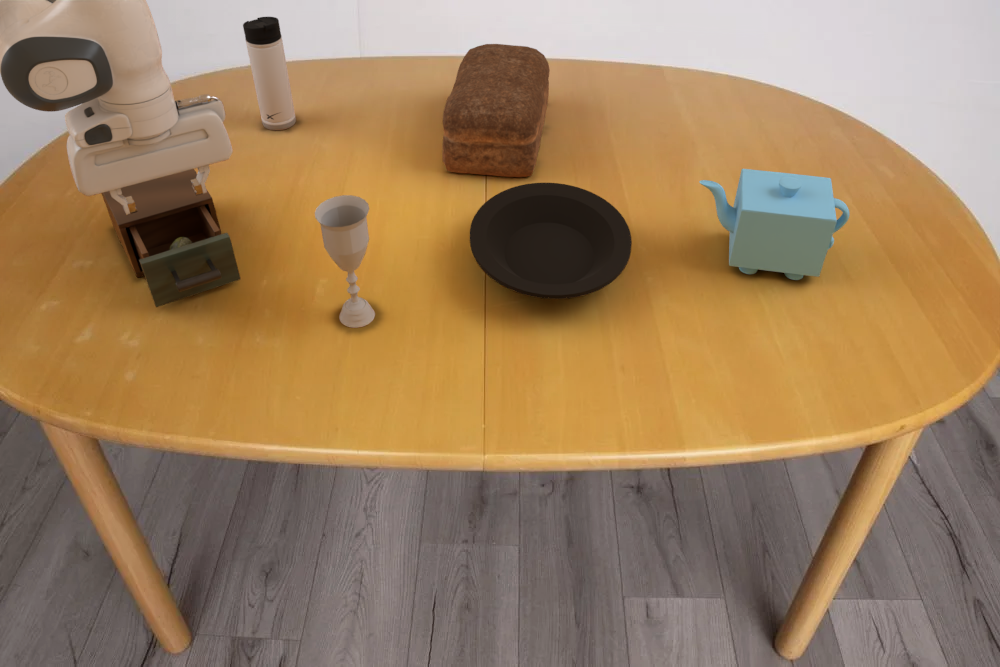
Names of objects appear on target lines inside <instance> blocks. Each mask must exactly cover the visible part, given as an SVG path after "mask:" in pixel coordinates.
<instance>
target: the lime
mask: <svg viewBox="0 0 1000 667" xmlns="http://www.w3.org/2000/svg"><path fill="white" fill-rule="evenodd" d="M192 243H193V242H192V241H191V240H190V239H189V238H186V237H179V238H177V239H176V240H175V241H174V242H173V243H172V244H171V246H170V249H169V250H172V249H175V248H179V247H182V246H185V245H188V244H192Z"/></svg>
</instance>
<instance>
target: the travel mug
mask: <svg viewBox="0 0 1000 667" xmlns="http://www.w3.org/2000/svg"><path fill="white" fill-rule="evenodd" d="M242 27H243V28H242V29H243V33H244V38H245V43H246V49H247V54H248V59H249V64H250V69H251V74H252V78H253V84H254V90H255V94H256V99H257V104H258V109H259V112H260V113H259V114H260V117H261V118H260V119H261V123H262V126H263V127H264V128H265V129H267V130H270V131H285V130H287V129H290V128H291V127H293V126H294V125H295V124H296V122H297V118H296V111H295V105H294V99H293V93H292V87H291V83H290V76H289V71H288V65H287V60H286V52H285V49H284V42H283V36H282V32H281V27H280V21H279V18H277V17H275V16H260V17H256V19H252V20H247V21H245V22H244V23H242Z"/></svg>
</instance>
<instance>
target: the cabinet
mask: <svg viewBox="0 0 1000 667" xmlns="http://www.w3.org/2000/svg"><path fill="white" fill-rule="evenodd" d="M197 174H198V172H197V171H196V170H195V169H191V170H187V171H184V172H180V173H176V174H172V175H168V176H165V177H161V178H157V179H153V180H149V181H145V182H142V183H138V184H134V185H130V186H126V187H123V188H121V192H122V195H123V196H124V197H128V196H132V198H133V200H134V202H135V205H136V209H137V212H135V213H132V214H128V215H126V213H125V211H124V208H123V206H122V205H121V204H120V203H119V202H118V201H116V200H115V199H114V198H112V197H111V195H110V193H109V191H107V192H103V193H101V197H102V199H103V201H104V204H105V207H106V210H107V212H108V215H109V218H110V221H111V223H112V227H113V229H114V231H115V233H116V235H117V238H118V240H119V242H120V244H121V246H122V248H123V250H124V253H125V255H126V257H127V259H128V261H129V264H130V266H131V268H132V270H133V272H134V274H135V277H136V278H141V277H143V276H144V277H145V275H144V273H143V270H142V267H141V264H140V261H139V258H138V256H137V253H136V250H135V248H134V245H133V242H132V239H131V236H130V233H129V231H128V228H127V227H130V226H133V225H137V224H140V223H144V222H147V221H151V220H154V219H157V218H161V217H164V216H168V215H171V214H174V213H178V212H181V211H185V210H188V209H191V208H195V207H198V206H202V205H205V207H206V209H207V210H208V212H209V214H210V215H211V217H212V219H213V220H214V222H215V223H216V225H217V227H218V228H219V230H220V233H221V234H223V233H222V230H221V226H220V223H219V219H218V215H217V210H216V207H215V203H214V199H213V196H212V195H211V194H210V192H209V190H208V189H207V188H206V191H207V193H204V194H201V195H197V196H196V194H195V193H194V191H193V188H192V184H191V180H192V179H196V177H197Z"/></svg>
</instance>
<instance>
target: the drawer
mask: <svg viewBox="0 0 1000 667" xmlns="http://www.w3.org/2000/svg"><path fill="white" fill-rule="evenodd" d="M127 228H128V231H129V233H130V236H131V239H132V242H133V245H134V248H135V250H136V253H137V256H138V258H139V261H140V264H141V267H142V270H143V273H144V278H145V281H146V284H147V287H148V289H149V293H150V295H151V298H152V301H153V304H154V306H155V308H158V307H162V306H165V305H168V304H171V303H174V302H176V301H180V300H183V299H185V298H188V297H192V296H194V295H198V294H201V293H204V292H207V291H210V290H213V289H216V288H219V287H222V286H224V285H228V284H231V283H234V282H237V281H240V280H241V274H240V270H239V267H238V263H237V259H236V256H235V251H234V247H233V244H232V239H231V236H230V235H229V233H228V232H224V233H222V232H221V233H222V234H221V233H220V230H221V229H220V230H219V228H218V227H217V225H216V223H215V222H214V220H213V219H212V217H211V215H210V214H209V212H208V210H207V209H206V207H205V205H202V206H198V207H195V208H191V209H188V210H185V211H181V212H178V213H174V214H171V215H168V216H164V217H161V218H157V219H154V220H151V221H147V222H144V223H140V224H137V225H133V226H130V227H127ZM179 237H186V238H189V239H190V240H191V241H192V242H193V243H192V244H188V245H185V246H182V247H179V248H175V249H172V250H169V249H170V246H171V244H172V243H173V242H174V241H175V240H176V239H177V238H179Z"/></svg>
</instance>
